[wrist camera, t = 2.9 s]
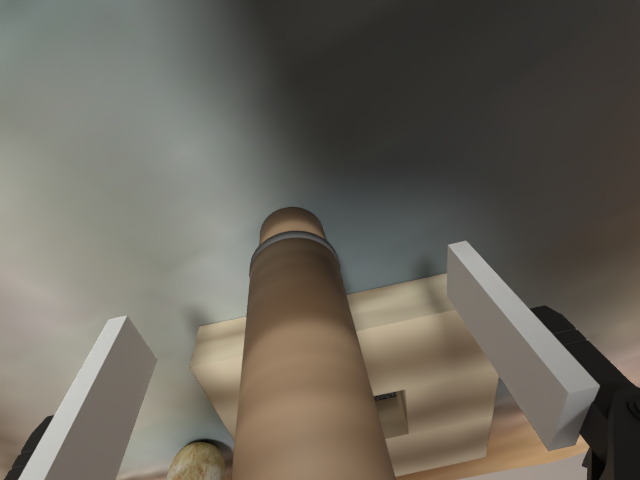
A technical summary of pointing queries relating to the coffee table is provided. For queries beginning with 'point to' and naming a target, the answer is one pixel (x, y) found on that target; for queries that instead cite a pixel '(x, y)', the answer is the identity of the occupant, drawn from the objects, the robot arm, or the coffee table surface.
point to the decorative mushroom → (198, 463)
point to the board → (390, 373)
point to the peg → (303, 366)
